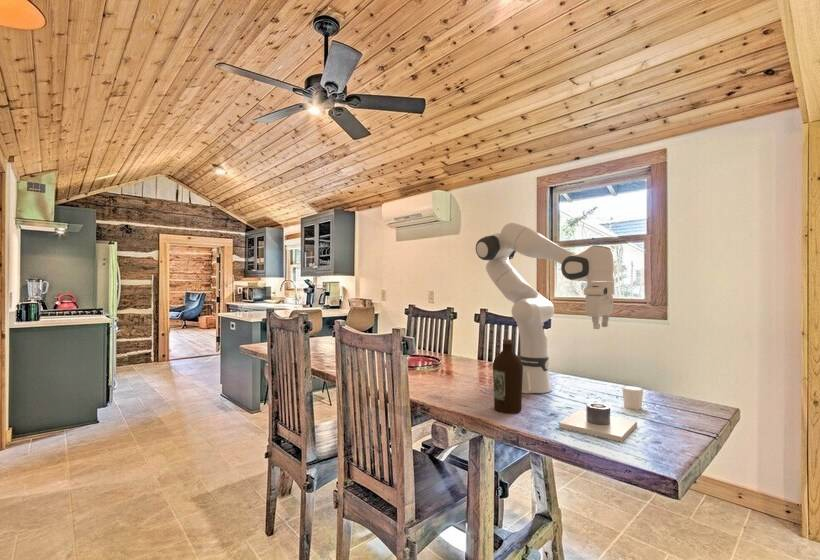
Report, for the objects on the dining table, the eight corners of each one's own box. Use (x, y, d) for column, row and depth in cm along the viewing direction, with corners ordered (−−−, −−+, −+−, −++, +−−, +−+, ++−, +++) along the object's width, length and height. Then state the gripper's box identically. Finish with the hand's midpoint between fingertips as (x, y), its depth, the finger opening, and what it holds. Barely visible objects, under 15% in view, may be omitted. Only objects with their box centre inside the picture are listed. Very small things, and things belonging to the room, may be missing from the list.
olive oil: (510, 403, 154) (510, 337, 154) (529, 412, 144) (529, 340, 144) (486, 407, 150) (486, 338, 150) (504, 415, 140) (504, 342, 140)
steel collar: (583, 422, 129) (583, 406, 129) (590, 416, 134) (590, 401, 134) (606, 426, 125) (606, 410, 125) (612, 421, 130) (612, 405, 130)
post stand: (559, 427, 129) (559, 406, 129) (579, 413, 142) (579, 395, 142) (621, 442, 117) (621, 419, 117) (637, 425, 130) (636, 405, 130)
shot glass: (646, 410, 146) (646, 390, 146) (625, 409, 147) (625, 389, 147) (639, 404, 153) (639, 386, 153) (619, 403, 154) (619, 385, 154)
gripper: (600, 289, 158) (600, 325, 158) (582, 289, 143) (582, 329, 142) (617, 289, 154) (618, 326, 154) (601, 290, 138) (601, 331, 138)
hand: (600, 328), depth 148 cm, fingers open, 8 cm apart
